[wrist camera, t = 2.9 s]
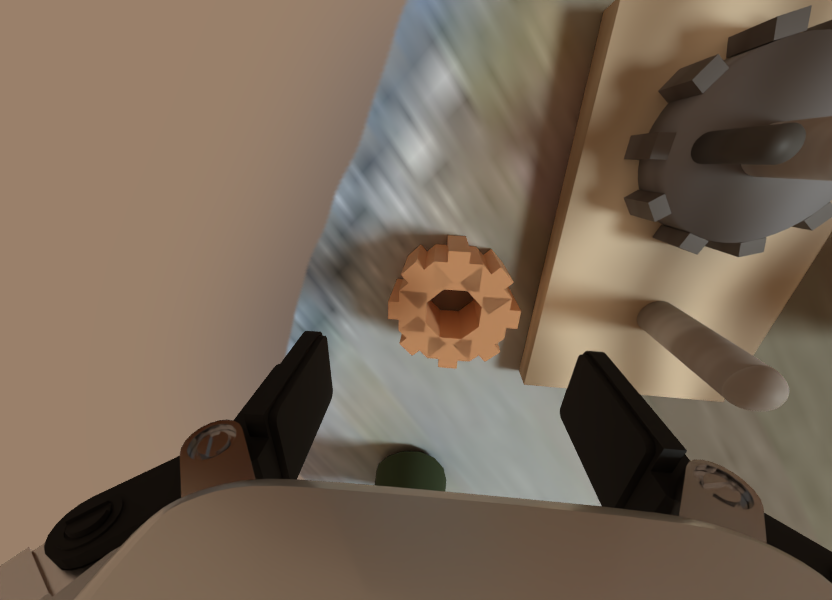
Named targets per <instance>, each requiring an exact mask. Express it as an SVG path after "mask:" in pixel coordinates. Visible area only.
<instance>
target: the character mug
mask: <svg viewBox="0 0 832 600" xmlns="http://www.w3.org/2000/svg"><path fill="white" fill-rule="evenodd" d="M375 485H376V486H387V487H399V488H410V489H422V490H433V491H444V492H445V488H446V477H445V473H444V468H443V467H442V466H441V465H440V464H439V463H438V462H437V461H436V459H435V458H433V457H431V456H429V455H426V454H424V453H422V452H404V451H403V452H400V453H397V454H394V455H391V456H388V457H387V458H386V459H384V460H383V461H382V462H381V463H379V465H378V468H377V471H376V479H375Z"/></svg>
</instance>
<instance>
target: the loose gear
mask: <svg viewBox="0 0 832 600" xmlns="http://www.w3.org/2000/svg"><path fill="white" fill-rule="evenodd" d="M401 275H402V277H403V279H397V281H396V283H395V286H394V288H393V291H392V293H391V296H390V298H389V301H388V319H396V320H399V331H400V332H401V333H402V335H401V339H400V345H401V346H402V347H403V348H405V349H406V350H407V351H408V352H409V353H410V354H411V355H414V354H415V353H417V352H418V351H419V350H420V351H421V352H422V353H423V354H424V355H425V356H426V357H427V358H435V359H438V367H444V368H457V360H459V361H471V360H472V359H474V358H475V357H477V356H478V355H479V356H480V357H481V358H482V359H483V360H484V361H487V360H488V359H490V358H492V357H493V356H495V355H496V354H498V353H500V349H499V346H498V342H500V341H501V340H503V339H504V337H505V332H506V328H513V329H517V328H518V323H519V319H520V314H521V310H520V308H519V306H518V304H517V302H516V300H515V298H514V296H513V294H512V293H511V291H510V289H509V287H508V286H510V285H511V284H513V283H514V282H513V280H512V278H511V277H510V275H509V273H508V271H507V270H506V268H505V266H504V264H503V263H502V261H501V260H500V259H499V258H498V256H497V255H496V254H495V253H494V252H493V250H492V249H490V250H489V251H488V252H486V253H485V254H484V255H483V254H482V253H481V252H480V251H479V249H478V248H477V247H472V246H469V245H468V242H467V238H466V236H452V235H448V238H447V245H440V244H435V245H434V246H433V247H432V248H431V249H430V250H428V251H426V249H425V248H424V247H423V246H422V245H420V246H418V247H417V248H416V249H415V250H414V251H413V252H412V253H411V254H409V255H408V257H407V260H406V262H405V265H404V268H403V271H402V273H401ZM444 289H445V290H460V291H468V292H469V293H470V295H471V296H472V297H473V301H472V302H470V303H469V304H468V305H466V306H465V307H464V308H462V309H461V310H459V311H449V310H440V309H439V308H438V307H437V306H436V305H435V304H434V303H433V302H432V301H431V299H432V298H433V297H435V296H436V295H437V294H439V293H440V292H441V291H442V290H444Z"/></svg>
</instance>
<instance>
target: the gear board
mask: <svg viewBox="0 0 832 600" xmlns="http://www.w3.org/2000/svg"><path fill="white" fill-rule="evenodd" d="M831 232H832V0H615V1H614V2H613V3H612V4H611V5H610V6H609V7H608V8H607V9H606V10H604V12H603V16H602V20H601V24H600V29H599V33H598V37H597V41H596V46H595V50H594V54H593V58H592V63H591V67H590V71H589V75H588V80H587V84H586V88H585V92H584V97H583V101H582V105H581V109H580V114H579V118H578V122H577V126H576V131H575V135H574V139H573V143H572V148H571V152H570V156H569V160H568V165H567V169H566V173H565V177H564V182H563V186H562V190H561V194H560V199H559V203H558V207H557V211H556V216H555V220H554V224H553V228H552V233H551V237H550V241H549V245H548V250H547V254H546V258H545V263H544V267H543V271H542V275H541V280H540V284H539V288H538V292H537V297H536V301H535V305H534V309H533V314H532V318H531V322H530V326H529V331H528V335H527V339H526V343H525V348H524V352H523V356H522V360H521V365H520V369H519V372H520V375H521V377H522V380H523V383H524V385H536V386H547V387H559V388H567V387H568V385H569V382H570V379H571V376H572V373H573V370H574V367H575V364H576V362H577V359H578V356H579V355H581V354H583V353H584V352H585V351H598V352H604V353H605V354H607V356H608V357H609V358H610V359H611V360H612V362H613V363H614V364H615V365H616V366H617V368H618V369H619V370H620V371H621V372H622V374H623V375H624V376H625V377H626V378H627V380H628V381H629V382H630V383H631V384H632V386H633V387H634V388H635V389H636V390H637V392H638V393H639V394H640V395H650V396H662V397H673V398H685V399H696V400H708V401H719V402H724V400H725V399H726V400H727V401H728V402H730V403H732V404H733V405H735V406H737V407H740V408H742V409H746V410H750V411H769V410H773V409H776V408H778V407H780V406H781V405H782V404H783V403H785V401H786V400H787V398H788V396H789V387H788V384H787V382H786V380H785V378H784V377H783V376H782V375H781V374H780V373H779V372H778V371H776V370H775V369H773V368H772V367H770V366H769V365H767V364H766V363H764V362H762V361H761V360H759V359H758V358H756V357H754V356H753V355H754V353H755V352H756V350H757V348H758V347H759V345H760V344H761V342H762V341H763V339H764V337H765V336H766V334H767V333H768V331H769V330H770V328H771V326H772V325H773V323H774V322H775V320H776V319H777V317H778V315H779V314H780V312H781V311H782V309H783V308H784V306H785V304H786V303H787V301H788V300H789V298H790V297H791V295H792V293H793V292H794V290H795V289H796V287H797V286H798V284H799V282H800V281H801V279H802V278H803V276H804V275H805V273H806V271H807V270H808V268H809V267H810V265H811V264H812V262H813V260H814V259H815V257H816V256H817V254H818V253H819V251H820V249H821V248H822V246H823V245H824V243H825V242H826V240H827V238H828V237H829V235H830V234H831Z"/></svg>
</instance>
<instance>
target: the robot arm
mask: <svg viewBox="0 0 832 600" xmlns="http://www.w3.org/2000/svg"><path fill="white" fill-rule="evenodd" d="M332 394H333V388H332V379H331V370H330V361H329V352H328V343H327V337H326V336H323V335H322V333H321V332H315V331H305V332H304V333H303V334H302V335H301V337H300V338H299V339H298V341H297V342H296V343H295V345H294V346H293V347H292V349H291V350H290V351H289V353H288V354H287V355H286V357H285V358H284V359H283V361H282V362H281V364H278V365H276V366H275V367H274V368H273V370H272V371H271V372H270V373H269V375H268V376H267V377H266V379H265V380H264V381H263V383H262V384H261V385H260V387H259V388H258V389H257V390H256V392H255V393H254V395H253V396H252V397H251V398H250V400H249V401H248V402H247V404H246V405H245V406H244V407H243V409H242V410H241V411H240V413H239V414H238V415H237V417H236V418H235V419H234V420H219V421H215V422H212V423H209V424H207V425H205V426H203V427H201V428H200V429H198V430H197V431H195V432H194V433H193V434H191V435H190V436H189V437H188V438H187V440H186V441H185V442H184V444H183V446H182V447H181V451H180V456H178V457H176V458H174V459H172V460H170V461H168V462H166V463H164V464H161V465H159V466H157V467H155V468H153V469H151V470H149V471H147V472H144V473H142V474H140V475H138V476H136V477H134V478H132V479H130V480H128V481H125V482H123V483H121V484H119V485H117V486H115V487H113V488H111V489H108V490H106V491H104V492H102V493H100V494H98V495H96V496H94V497H92V498H90V499H88V500H87V501H85V502H83V503H81V504H80V505H78V506H77V507H75V508H74V509H73V510H71V511H70V512H69V513H67V514H66V515H65V516H64V517H63V518H62V519H61V520H60V521H59V522H58V523H57V524H56V525H55V527H54V528H53V529H52V531H51V532H50V534H49V535H48V537H47V539H46V542H45V543H44V544H43V545H41V546H40V547H38V548H37V549H35V550H34V551H32V550H31V549H30V548H29V547H28V548H27V549H25V550H24V551H22V552H21V553H19V554H18V555H16V556H15V557H13V558H12V559H10V560H8V561H7V562H5V563H4V564H2V565H1V566H0V600H832V552H831V551H829V550H828V549H826V548H824V547H822V546H821V545H819V544H817V543H815V542H814V541H812V540H810V539H809V538H807V537H805V536H803V535H802V534H800V533H798V532H796V531H795V530H793V529H791V528H790V527H788V526H786V525H784V524H783V523H781V522H779V521H778V520H776V519H774V518H772V517H771V516H769V515H767V514H765V513H764V509H763V505H762V502H761V499H760V498H759V496H758V495H757V494H756V492H755V491H754V490H753V489H752V488H751V487H750V486H749V485H748V484H747V483H746V482H745V481H744V480H743V479H741V478H740V477H739V476H737V475H736V474H735V473H733V472H731V471H729V470H728V469H726V468H724V467H722V466H720V465H718V464H715V463H713V462H709V461H705V460H692V461H690V460H689V459H688V458H687V456H686V455H685V453H686V451H687V450H686V449H685V448H684V447H683V445H682V444H681V443H680V442H679V441H678V439H677V438H676V437H675V436H674V435H673V433H672V432H671V431H670V430H669V429H668V427H667V426H666V425H665V424H664V423H663V421H662V420H661V419H660V418H659V417H658V415H657V414H656V413H655V412H654V411H653V409H652V408H651V407H650V406H649V405H648V404H647V402H646V401H645V400H644V399H643V398H642V396H641V395H640V394H639V393H638V392H637V390H636V389H635V388H634V387H633V386H632V384H631V383H630V382H629V381H628V380H627V378H626V377H625V376H624V375H623V374H622V372H621V371H620V370H619V369H618V368H617V366H616V365H615V364H614V363H613V362H612V360H611V359H610V358H609V357H608V356H607V354H605V353H604V352H598V351H585V352H584V353H583V354H581V355H579V356H578V359H577V362H576V364H575V367H574V370H573V373H572V376H571V379H570V382H569V385H568V387H567V390H566V393H565V396H564V399H563V402H562V405H561V408H560V416H561V419H562V421H563V423H564V426H565V428H566V430H567V432H568V434H569V436H570V439H571V441H572V443H573V445H574V447H575V449H576V451H577V454H578V456H579V458H580V460H581V462H582V464H583V467H584V469H585V471H586V473H587V475H588V477H589V480H590V482H591V484H592V486H593V488H594V490H595V492H596V495H597V497H598V499H599V501H600V503H601V505H602V506H591V505H581V504H571V503H561V502H550V501H540V500H530V499H520V498H509V497H498V496H488V495H477V494H466V493H455V492H444V491H433V490H422V489H410V488H399V487H387V486H376V485H364V484H352V483H340V482H326V481H311V480H297V478H298V475H299V473H300V471H301V468H302V466H303V464H304V461H305V459H306V457H307V454H308V452H309V450H310V448H311V445H312V443H313V441H314V438H315V436H316V434H317V431H318V429H319V427H320V424H321V422H322V420H323V418H324V415H325V413H326V411H327V408H328V406H329V404H330V401H331V399H332Z"/></svg>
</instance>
